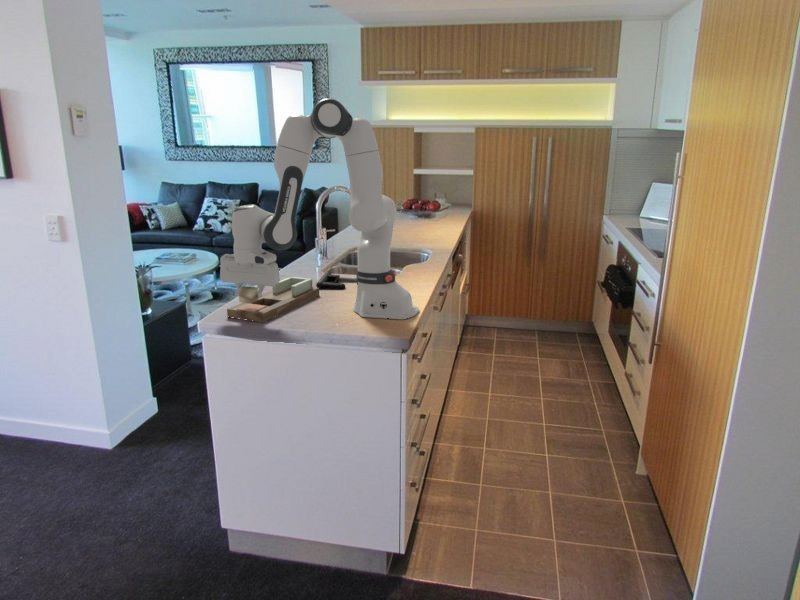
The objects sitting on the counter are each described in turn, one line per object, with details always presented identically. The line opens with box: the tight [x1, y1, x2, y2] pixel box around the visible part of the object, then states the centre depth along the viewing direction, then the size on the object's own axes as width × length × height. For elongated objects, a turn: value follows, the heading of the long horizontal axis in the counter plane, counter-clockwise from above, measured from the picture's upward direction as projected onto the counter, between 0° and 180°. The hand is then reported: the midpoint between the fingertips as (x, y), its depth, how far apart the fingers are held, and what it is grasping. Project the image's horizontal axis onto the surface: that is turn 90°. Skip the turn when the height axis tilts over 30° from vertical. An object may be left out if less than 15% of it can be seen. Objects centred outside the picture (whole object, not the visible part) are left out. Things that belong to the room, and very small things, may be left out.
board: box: [226, 286, 320, 323], centre depth 205 cm, size 14×36×3 cm, turn 158°
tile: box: [237, 304, 267, 312], centre depth 192 cm, size 7×7×1 cm
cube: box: [237, 285, 259, 303], centre depth 190 cm, size 4×4×4 cm
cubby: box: [271, 276, 314, 296], centre depth 214 cm, size 10×12×4 cm
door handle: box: [315, 271, 357, 290], centre depth 237 cm, size 3×20×16 cm
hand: (250, 296), depth 191 cm, fingers closed on cube, 4 cm apart
